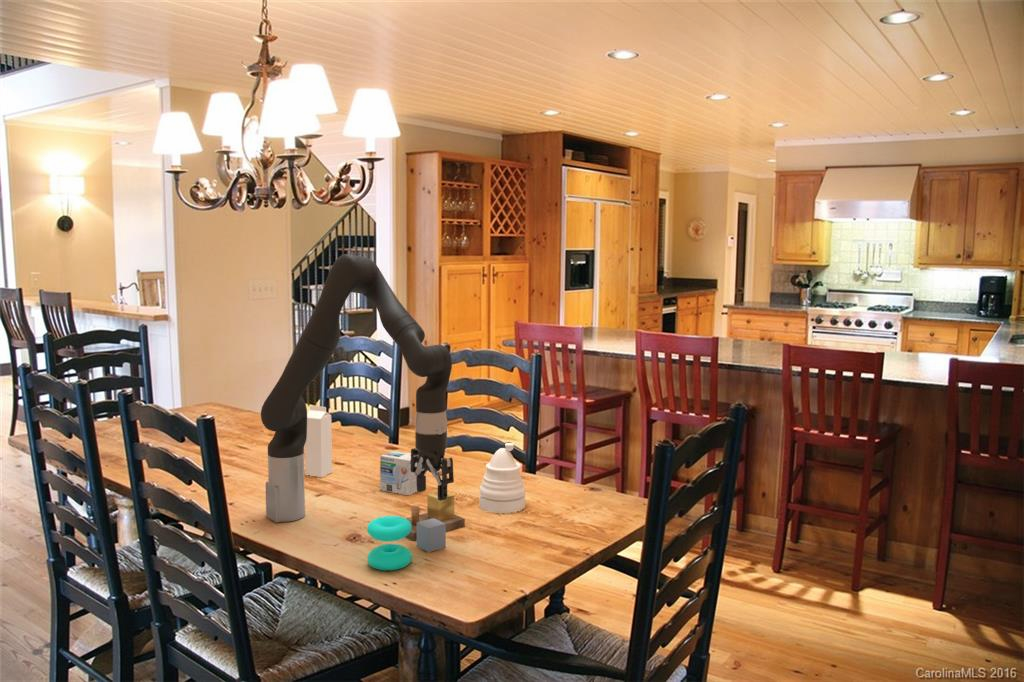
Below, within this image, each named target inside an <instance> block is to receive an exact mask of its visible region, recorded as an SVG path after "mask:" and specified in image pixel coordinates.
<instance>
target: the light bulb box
mask: <svg viewBox="0 0 1024 682" xmlns="http://www.w3.org/2000/svg"><path fill="white" fill-rule="evenodd" d="M379 459H380V461H379V463H380V464H379V465H380V467H379V468H380V469H379V471H380V472H379V475H380V477H379V480H380V481H379V482H380V483H379V490H380V491H383V492H388V493H393V494H397V493H398V495H403V496H406V495H409V496H411V495H414V494H416V493H418V492H417V478H416V476H415V473H414V472H411V453H409V452H402V451H397V450H396V451H395V450H392V451H389V452H386V453H385V454H381V455H380V457H379ZM416 466H417V463H415V467H416ZM415 492H416V493H415ZM413 493H414V494H413Z"/></svg>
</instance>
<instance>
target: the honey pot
mask: <svg viewBox="0 0 1024 682" xmlns="http://www.w3.org/2000/svg"><path fill="white" fill-rule="evenodd" d="M504 446H505V447H500V448H499V449H498V450H497V449H496V451H495V453H493V455H492V457H491V459H490V461H489V462H488V463H486V464H485V469H486V471H485V473H484V475H483V477H482V478H483V479H482V480H481V484H480V486H479V491H478V492H479V495H478V496H479V498H478V501H479V502H478V504H479V505H478V507H479V506H480V507H479V509H481V510H482V509H483V510H482V511H484V510H485V511H484V512H486V511H489V512H488V513H490V512H495V513H494V514H496V513H509V514H512V513H511V512H515V513H517V512H516V511H519V510H521V509H523V508H524V507H525V508H526V487H525V485H524V481H523V478H522V475H521V473H520V470H521V468H522V464H521V463H519V462H517V461H515V457H514V456H513V455H512V453H511V451H513V449H514V448H515V443H513V442H512V443H511V442H507V443H505V444H504ZM525 508H524V509H525ZM524 509H523V510H524ZM521 511H522V510H521ZM519 512H520V511H519Z"/></svg>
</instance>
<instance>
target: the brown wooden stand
mask: <svg viewBox="0 0 1024 682" xmlns="http://www.w3.org/2000/svg"><path fill="white" fill-rule="evenodd" d="M426 495H427V500H426V501H427V505H426V506H427V509H426V510H427V512H425V513H421V514H420V505H411V508H410V510H411V511H410V512H411V516H409V517H405V518H406V519H407V520H409V521H410V523H411V526H412V529H411V532H410V533H409V534H408V535H407V536H406V537H405V538H407V539H409V540H411V541H413V542H416V541H417V522H421V521H425V520H428V519H432V518H434V519H437V520H439V521H441V522H443V523H445V524H446V532H449V531H453V530H456V528H457V529H460V528H464V527H465V526H466V525H465V524H466V522H465V521H466V520H465V519H466V518H464V517H461V516H460V515H457V514H455V494H453V493H450V492H448V491H447V499H445V500H442V501H440V500H438V491H436V492H431V493H428V494H426ZM463 526H464V527H463ZM459 527H460V528H459ZM452 529H453V530H452Z"/></svg>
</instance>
